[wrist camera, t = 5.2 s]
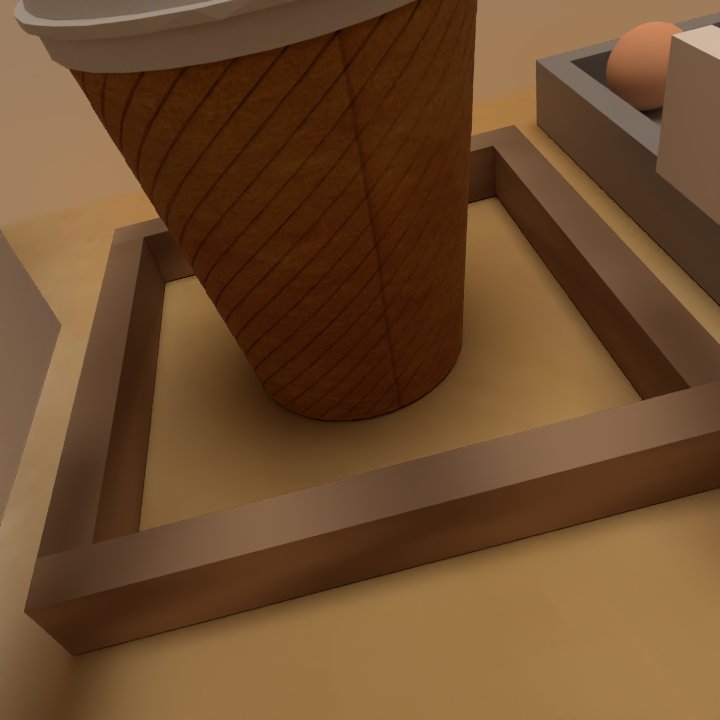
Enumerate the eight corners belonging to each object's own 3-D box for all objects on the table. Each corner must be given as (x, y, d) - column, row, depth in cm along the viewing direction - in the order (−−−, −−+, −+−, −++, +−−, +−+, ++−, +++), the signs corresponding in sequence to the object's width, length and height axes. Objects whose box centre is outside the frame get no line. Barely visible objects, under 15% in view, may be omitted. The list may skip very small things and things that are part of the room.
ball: (626, 131, 24) (633, 46, 22) (590, 103, 26) (594, 24, 24) (705, 111, 24) (719, 24, 22) (663, 84, 26) (672, 3, 24)
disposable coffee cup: (242, 273, 24) (93, -119, 16) (503, 240, 23) (478, -214, 15) (170, 482, 17) (-149, -22, 9) (540, 457, 16) (531, -184, 8)
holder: (73, 655, 14) (23, 611, 13) (137, 272, 26) (115, 229, 24) (761, 475, 14) (784, 413, 13) (515, 174, 26) (514, 124, 24)
